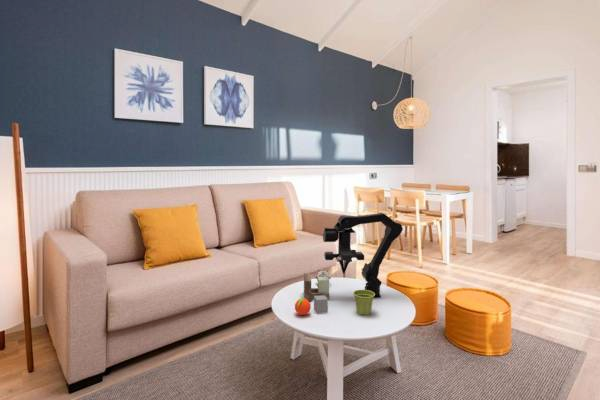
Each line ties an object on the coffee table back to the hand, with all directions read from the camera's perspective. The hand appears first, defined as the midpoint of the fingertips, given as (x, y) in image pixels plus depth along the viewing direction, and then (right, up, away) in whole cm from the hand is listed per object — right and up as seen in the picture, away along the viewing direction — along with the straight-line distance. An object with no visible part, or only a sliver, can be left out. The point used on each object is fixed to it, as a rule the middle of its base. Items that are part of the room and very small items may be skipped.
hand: (343, 273), depth 176 cm
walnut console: (-13, -12, +1) cm, 18 cm away
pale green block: (-10, -12, +1) cm, 15 cm away
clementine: (-20, -14, -20) cm, 32 cm away
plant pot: (+7, -14, -17) cm, 23 cm away
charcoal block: (-12, -14, -15) cm, 24 cm away
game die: (-9, -10, +19) cm, 23 cm away
